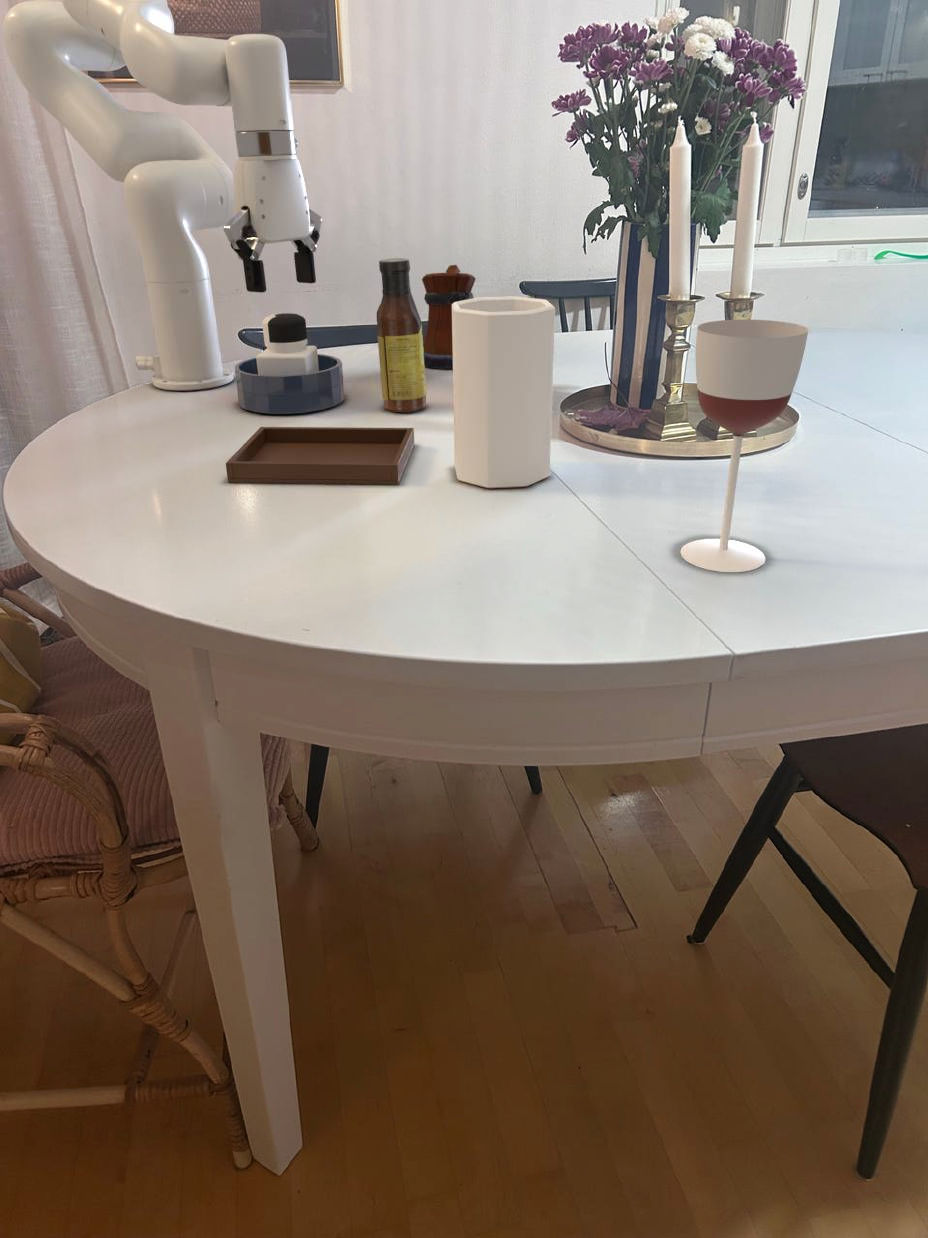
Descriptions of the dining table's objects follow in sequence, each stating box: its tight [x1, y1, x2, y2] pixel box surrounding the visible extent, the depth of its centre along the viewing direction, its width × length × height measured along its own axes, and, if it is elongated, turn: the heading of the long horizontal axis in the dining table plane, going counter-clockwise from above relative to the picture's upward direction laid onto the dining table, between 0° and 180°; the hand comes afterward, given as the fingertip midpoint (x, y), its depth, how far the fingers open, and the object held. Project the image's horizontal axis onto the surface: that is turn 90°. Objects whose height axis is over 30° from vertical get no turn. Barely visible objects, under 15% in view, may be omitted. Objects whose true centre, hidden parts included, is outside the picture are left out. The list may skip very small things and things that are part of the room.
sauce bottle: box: [375, 257, 427, 413], centre depth 124 cm, size 7×6×20 cm
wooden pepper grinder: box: [421, 264, 476, 370], centre depth 154 cm, size 18×12×15 cm, turn 177°
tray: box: [225, 426, 415, 486], centre depth 107 cm, size 19×14×2 cm
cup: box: [452, 295, 556, 490], centre depth 99 cm, size 11×11×18 cm
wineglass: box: [679, 319, 809, 573], centre depth 78 cm, size 8×9×20 cm
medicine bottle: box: [255, 312, 319, 376], centre depth 130 cm, size 7×7×12 cm
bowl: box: [234, 353, 346, 415], centre depth 132 cm, size 15×15×6 cm
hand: (282, 286), depth 125 cm, fingers open, 9 cm apart
